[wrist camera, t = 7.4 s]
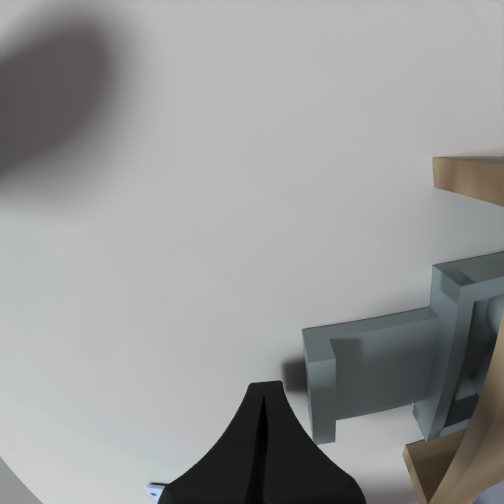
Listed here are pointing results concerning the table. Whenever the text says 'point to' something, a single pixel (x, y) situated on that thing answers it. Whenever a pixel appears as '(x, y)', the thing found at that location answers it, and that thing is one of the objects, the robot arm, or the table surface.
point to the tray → (411, 355)
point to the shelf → (494, 389)
